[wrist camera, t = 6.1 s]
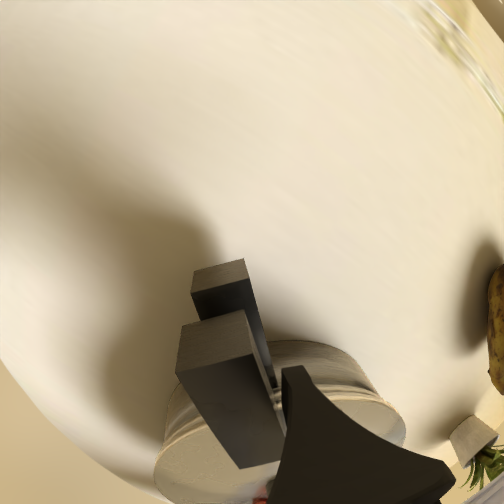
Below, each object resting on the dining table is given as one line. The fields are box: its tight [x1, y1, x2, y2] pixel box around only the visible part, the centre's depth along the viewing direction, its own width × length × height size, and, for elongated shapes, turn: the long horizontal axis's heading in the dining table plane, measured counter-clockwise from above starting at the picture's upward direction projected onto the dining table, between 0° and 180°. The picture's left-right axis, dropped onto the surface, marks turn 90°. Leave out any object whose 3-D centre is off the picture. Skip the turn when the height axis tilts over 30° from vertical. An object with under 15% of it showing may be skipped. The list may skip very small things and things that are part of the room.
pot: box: [162, 258, 384, 447], centre depth 16 cm, size 22×16×5 cm
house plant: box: [449, 415, 504, 491], centre depth 20 cm, size 14×14×16 cm
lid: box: [154, 309, 406, 504], centre depth 13 cm, size 22×17×3 cm
